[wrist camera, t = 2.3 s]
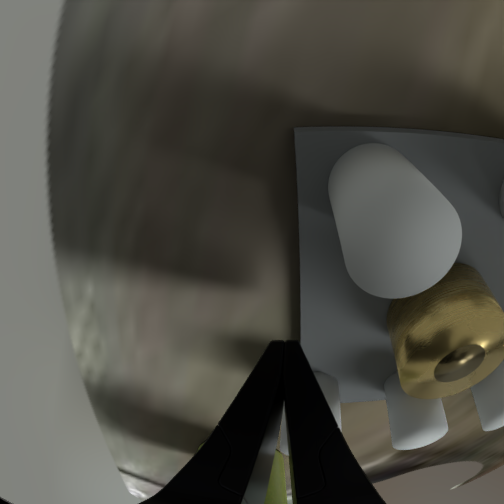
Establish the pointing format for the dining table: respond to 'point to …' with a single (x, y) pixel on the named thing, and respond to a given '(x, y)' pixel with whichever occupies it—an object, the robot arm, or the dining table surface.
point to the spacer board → (322, 260)
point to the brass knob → (447, 335)
